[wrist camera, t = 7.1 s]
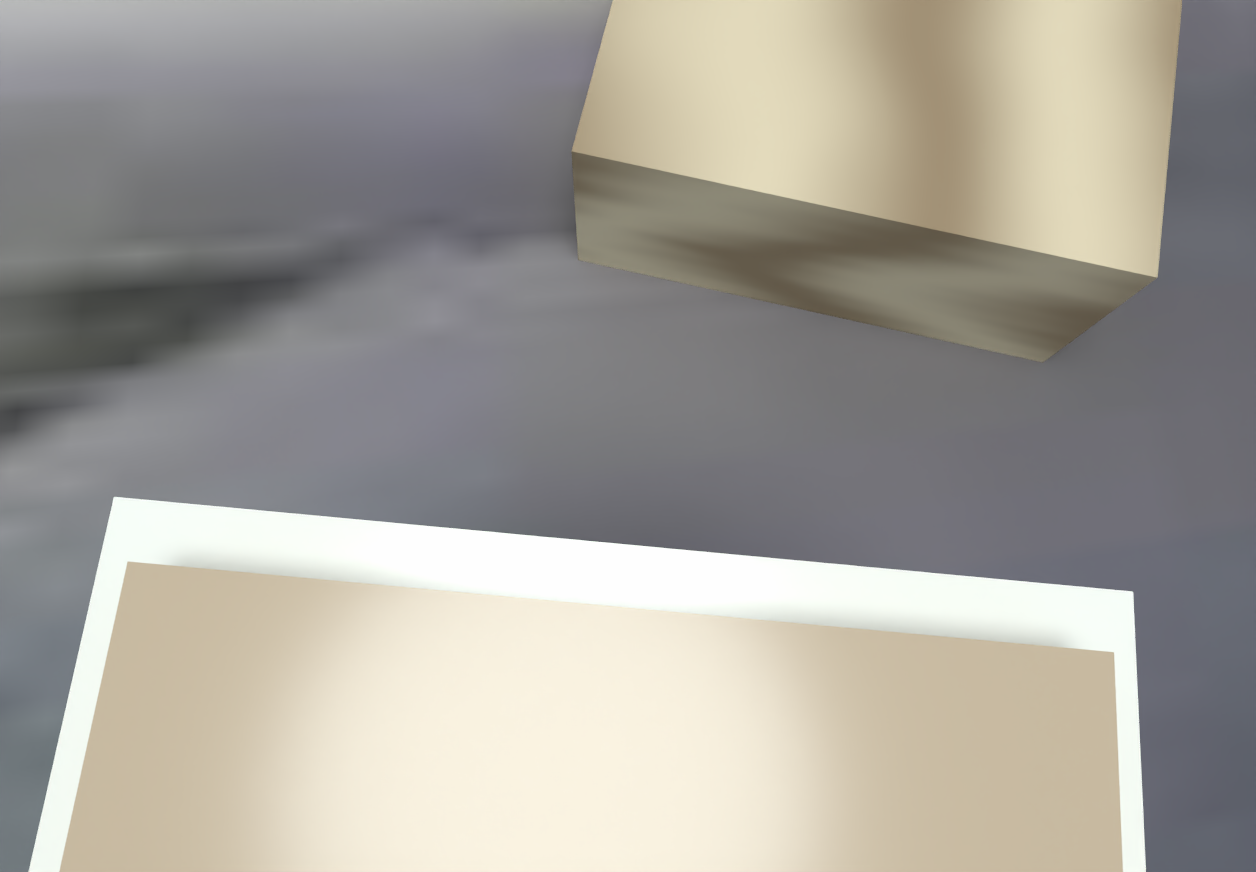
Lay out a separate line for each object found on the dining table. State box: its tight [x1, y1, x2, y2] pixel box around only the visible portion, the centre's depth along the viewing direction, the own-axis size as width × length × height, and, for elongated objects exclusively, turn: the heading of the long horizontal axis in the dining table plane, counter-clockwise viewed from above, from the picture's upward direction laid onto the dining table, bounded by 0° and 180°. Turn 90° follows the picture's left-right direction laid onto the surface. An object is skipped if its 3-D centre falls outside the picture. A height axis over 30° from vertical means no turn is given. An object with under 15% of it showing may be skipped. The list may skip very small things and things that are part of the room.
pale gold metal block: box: [572, 0, 1182, 362], centre depth 21 cm, size 11×11×5 cm
